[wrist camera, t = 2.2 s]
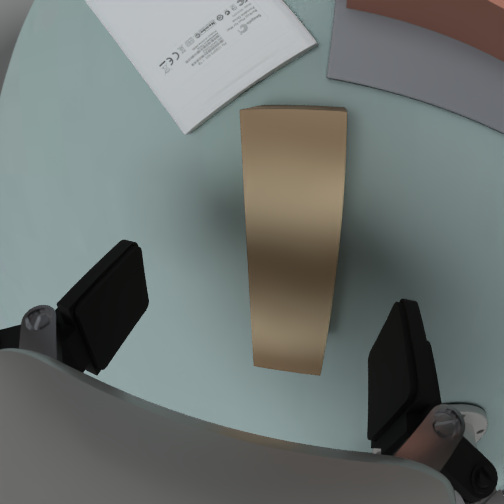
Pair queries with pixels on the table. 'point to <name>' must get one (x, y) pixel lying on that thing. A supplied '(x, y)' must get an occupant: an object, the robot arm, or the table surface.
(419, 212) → the table surface
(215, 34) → the external hard drive
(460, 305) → the table surface
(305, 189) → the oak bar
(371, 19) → the fulcrum board
